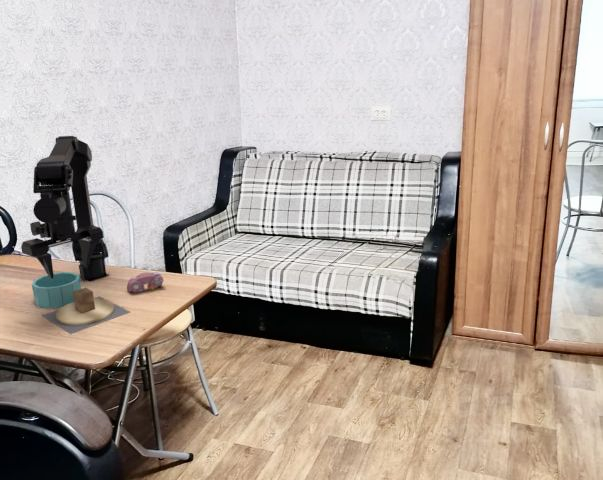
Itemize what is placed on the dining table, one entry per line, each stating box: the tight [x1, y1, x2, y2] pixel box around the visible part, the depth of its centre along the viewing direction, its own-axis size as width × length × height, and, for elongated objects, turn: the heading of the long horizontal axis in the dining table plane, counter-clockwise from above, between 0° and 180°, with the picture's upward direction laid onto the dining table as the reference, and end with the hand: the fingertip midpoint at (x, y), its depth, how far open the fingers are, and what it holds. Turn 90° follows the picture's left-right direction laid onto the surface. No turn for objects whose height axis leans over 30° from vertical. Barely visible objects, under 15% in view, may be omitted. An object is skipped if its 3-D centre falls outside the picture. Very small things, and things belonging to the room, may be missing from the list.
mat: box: [41, 296, 131, 335], centre depth 148 cm, size 16×16×1 cm
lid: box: [56, 287, 115, 326], centre depth 147 cm, size 14×14×6 cm
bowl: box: [31, 271, 83, 309], centre depth 157 cm, size 12×12×6 cm
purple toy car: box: [126, 271, 164, 293], centre depth 162 cm, size 10×5×7 cm, turn 117°
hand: (68, 272), depth 145 cm, fingers open, 9 cm apart
